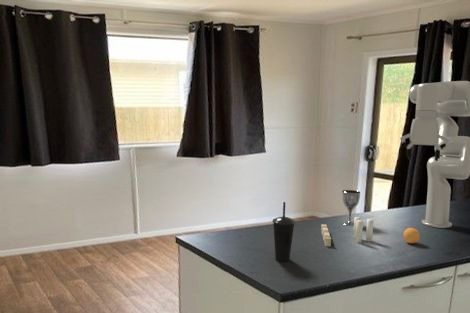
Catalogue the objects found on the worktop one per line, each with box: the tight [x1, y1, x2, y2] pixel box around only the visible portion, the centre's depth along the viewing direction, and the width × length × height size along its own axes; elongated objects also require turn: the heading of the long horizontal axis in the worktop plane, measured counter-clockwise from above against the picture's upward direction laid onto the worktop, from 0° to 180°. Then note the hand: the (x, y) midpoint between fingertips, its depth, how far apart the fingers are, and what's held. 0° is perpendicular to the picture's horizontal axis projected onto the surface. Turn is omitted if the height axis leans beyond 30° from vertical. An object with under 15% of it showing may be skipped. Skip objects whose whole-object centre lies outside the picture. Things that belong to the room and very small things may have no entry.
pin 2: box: [354, 220, 364, 244], centre depth 164 cm, size 2×2×8 cm
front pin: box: [365, 218, 374, 243], centre depth 166 cm, size 2×2×8 cm
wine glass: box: [341, 189, 361, 227], centre depth 191 cm, size 8×8×15 cm
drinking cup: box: [272, 201, 296, 263], centre depth 143 cm, size 8×8×20 cm
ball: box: [402, 227, 421, 245], centre depth 164 cm, size 6×6×6 cm
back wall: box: [320, 223, 332, 247], centre depth 168 cm, size 20×2×3 cm, turn 173°
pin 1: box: [352, 216, 362, 240], centre depth 169 cm, size 2×2×8 cm
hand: (422, 159), depth 163 cm, fingers open, 9 cm apart
